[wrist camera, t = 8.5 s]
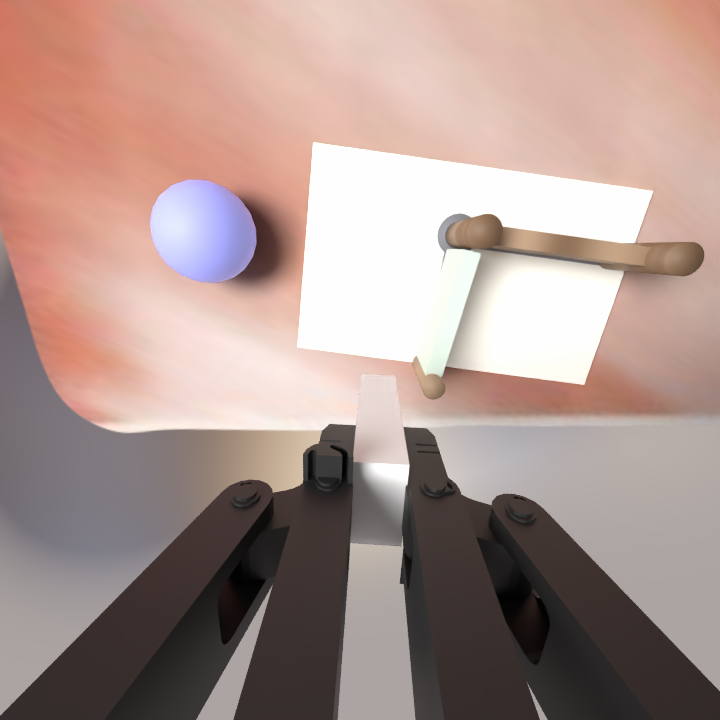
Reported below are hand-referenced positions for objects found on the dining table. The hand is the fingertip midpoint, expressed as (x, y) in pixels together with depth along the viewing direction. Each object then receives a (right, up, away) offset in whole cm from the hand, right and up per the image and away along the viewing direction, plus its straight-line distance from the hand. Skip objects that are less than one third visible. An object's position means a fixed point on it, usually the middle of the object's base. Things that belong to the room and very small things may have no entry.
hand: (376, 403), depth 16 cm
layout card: (+8, +9, +13) cm, 18 cm away
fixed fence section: (+13, +11, +12) cm, 21 cm away
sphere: (-12, +12, +13) cm, 21 cm away
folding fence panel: (+6, +6, +14) cm, 16 cm away
